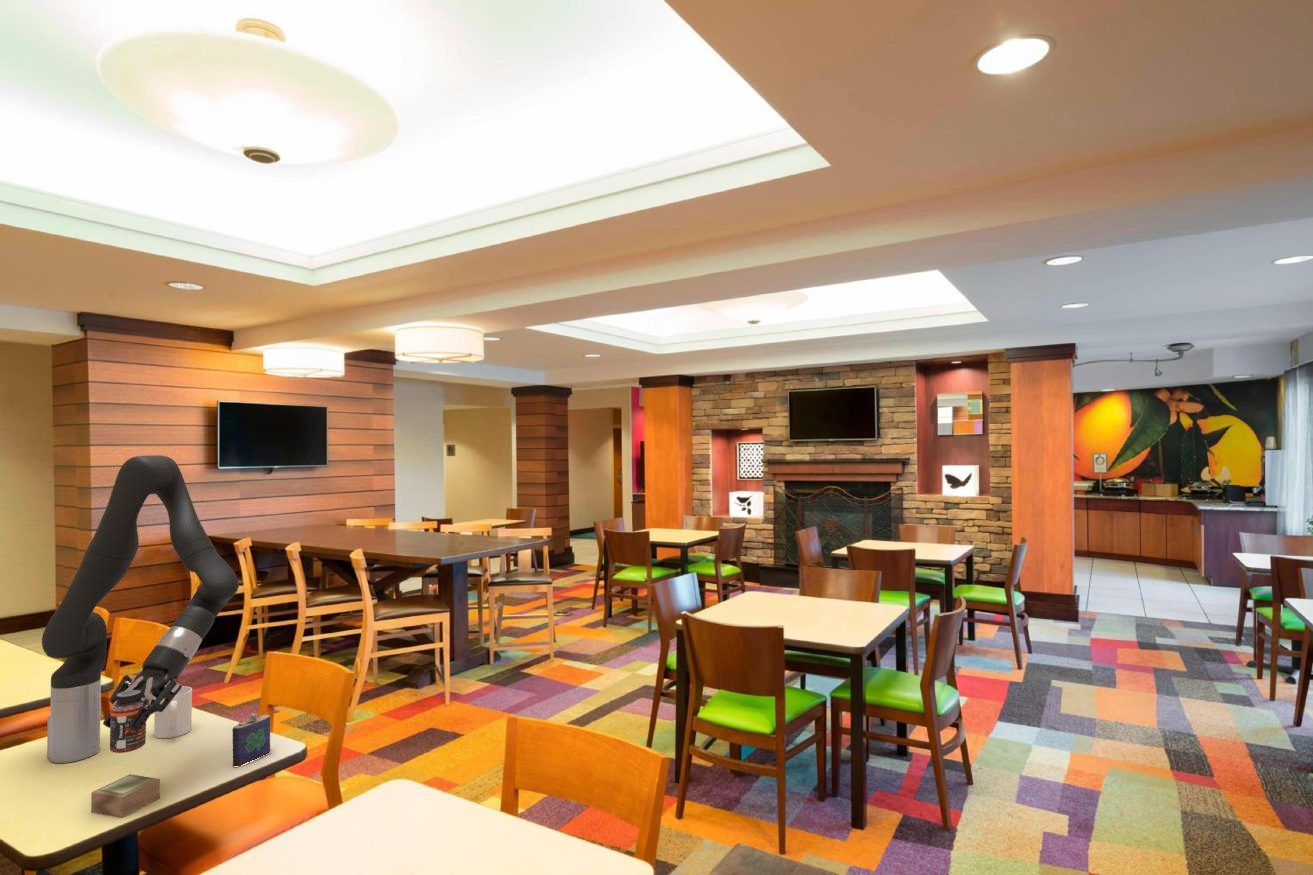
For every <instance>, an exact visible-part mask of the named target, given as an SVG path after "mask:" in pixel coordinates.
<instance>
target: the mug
mask: <svg viewBox="0 0 1313 875" xmlns="http://www.w3.org/2000/svg"><path fill="white" fill-rule="evenodd" d="M181 686H182V685H181ZM164 700H165V699H163V700H162V701H161V702H160V704H162V703H163V701H164ZM192 708H193V688H192V687H191V686H182V688H181V689H180V691H179V692H178V693H177V694H176V696H175V697H174V698H173V699H172V700H171V702H170V703H169V704H168V705H167V707H166V708H165V709H164V710H163V711H162V712H158V711H157V712H155V713H153V714H154V717H153V718H154V722H153V724H154V726H153V729H154V730H153V731H154V732H153V734H154V737H155V738H157V739H171V738H176V737H177V738H178V737H181V736H183V735H186V734H188V733H190V731H191V730H192V727H193V726H192V722H193V720H192V719H193V718H192V713H193V712H192V711H193V709H192Z"/></svg>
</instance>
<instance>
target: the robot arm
mask: <svg viewBox="0 0 1313 875" xmlns="http://www.w3.org/2000/svg"><path fill="white" fill-rule="evenodd" d="M182 474H183V473H182V472H181V469H180V467H179V465H178V464H177V462H176V461H175V460H174V459H172V458H171V457H169V456H167V455H162V454H161V455H159V454H158V455H151V454H150V455H136V456H133V457H130V458H129V459H127V460H125V462H124V463H122V465H121V467H120V468H119V470H118V473H117V476H116V478H115V481H114V484H113V487H112V490H111V494H110V497H109V499H108V503H107V505H106V507H105V511H104V513H103V515H102V517H101V519H100V522H99V523H98V526H97V529H96V530H95V533H94V534H93V537H92V539H91V541H90V542H89V544H88V546H87V549H86V550H85V553H84V555H83V556H82V559H81V562H80V565H79V567H78V569H77V570H76V573H75V575H74V576H73V579H72V581H71V583H70V585H69V587H68V589H67V591H66V593H65V595H64V597H63V599H62V600H61V602H60V604H58V606H57V608H56V610H55V611H54V613H53V615H52V616H51V617H50V619H49V621H48V622H47V625H46V626H45V628H44V630H43V632H42V637H41V645H42V650H43V652H44V654H45V655H46V656H48V657H49V658H52V659H55V660H56V659H65V658H66V659H65V660H64V662H63V663H62V665H60V667H58V668H57V669H56V670H55V671H54V672H53V673H52V674H51V677H50V711H49V712H50V715H49V716H48V718H47V734H46V735H47V740H46V742H47V743H46V744H47V745H46V758H48V759H49V762H51V763H53V764H54V763H56V764H65V763H72V762H77V761H81V760H84V759H87V758H90V757H93V756H94V755H96V754H97V753H99V752H100V749H101V706H102V705H101V696H102V695H101V692H102V691H101V689H102V688H101V687H102V680H101V679H102V671H103V669H104V667H105V665H106V658H107V657H106V656H107V643H108V642H107V641H108V629H107V624H106V621H105V620H104V618H103V617H102V615H100V613H98V612H94V610H95V608H96V607H97V606H98V605H99V603H100V602H102V600H103V599H104V598H105V597H106V596H107V595H108V594H109V593H110V592H111V591H112V590H113V589H114V588H115V587H116V586H117V585H118V584H119V583H120V581H121V580H122V579H123V578H124V577H125V576H126V575H127V573H128V571H129V569H130V567H131V565H132V563H133V561H134V558H135V557H136V555H137V553H138V550H139V544H140V543H139V542H140V540H139V533H138V525H137V524H138V523H137V522H138V517H139V514H140V512H141V509H142V507H143V505H144V503H145V501H146V499H147V498H148V497H149V495H156V496H157V497H158V499H160V501H161V502H162V504H163V506H164V507H165V509H166V511H167V515H168V521H169V537H170V542H171V545H172V546H173V549H174V550H175V553H176V554H177V555H178V557H179V559H180V560H181V563H182V564H183V566H184V567H185V568H186V569H185V570H187V571H189V572H190V573H195V575H196V576H197V578H198V579H199V580H200V581H201V584H200V586H199V587H198V588H197V590H196V591H195V592H194V594H193V596H192V597H191V599H190V601H189V602H188V604H187V605H186V607H185V608H184V609H183V610H182V612H181V613H180V614H179V615H178V616H177V618H176V620H174V622H173V623H172V625H171V626H170V627H169V628H168V630H167V631H166V632H165V633H164V634H163V635H162V637H160V639H159V641H158V642H157V643H156V644H155V646H154V647H153V648H152V650H151V651H150V652H149V654H148V655H147V657H146V658H145V659H144V661H143V662H142V670H141V672H139V673H138V674H137V675H136V676H130V675H128V674H125V675H123V677H122V678H121V680H120V682H119V683H118V685H117V686H116V688H115V690H114V691H113V693H112V695H111V696H110V698H109V699H108V701H109V702H110V703H111V704H112V706H114V705H115V704H116V703H117V701H116V700H117V694H119V693H121V692H124V691H129V690H140V691H141V697H140V698H141V699H143V701H144V703H143V707H142V709H143V710H139V712H138V713H137V714H136V716H135V717H134V719H133V720H132V722H131V723H130V724H129V729H131V730H132V731H136V732H137V731H139V729H140V728H142V727H143V725H144V723H145V722H146V723H147V721H148V720H149V718H150V716H151V715H153V714H155V712H157V711H158V712H162V711H163V710H164V709H165V708H166V707H167V705H168V704H169V703H170V702H171V700H172V699H173V698H174V697H175V696H176V694H177V693H178V692H179V691H180V689H181V688H182V685H181V684H180V682H179V683H178V681H175V680H177V679H178V678H179V677H180V676H181V674H182V673H183V671H184V670H185V669H186V667H187V666H188V665H189V662H190V661H191V660H192V658H193V657H194V656H195V654H196V652H197V651H198V649H199V647H200V645H201V643H202V641H203V640H204V638H205V637H206V636H207V634H208V632H210V630H211V628H212V627H213V625H214V623H215V619H216V618H217V617H218V615H219V614H220V612H221V611H222V610H223V608H224V607H225V606H226V604H227V603H228V602H229V601H230V600H231V599H232V598H233V597H234V596H235V594H237V592H238V590H239V584H240V583H239V578H238V577H237V575H236V572H235V571H234V569H233V568H232V567H231V566H230V565H229V564H228V563H227V561H226V560H225V559H224V558H222V557H221V555H220V554H219V553H218V551H217V550H216V548H215V545H214V544H213V543H212V541H211V539H210V538H209V536H208V534H207V532H206V531H205V529H204V527H203V525H202V524H201V521H200V519H199V517H198V515H197V512H196V510H195V506H194V505H193V502H192V498H191V496H190V493H189V491H188V487H187V485H186V482H185V480H184V476H183V475H182ZM163 699H165V700H164V701H163V703H162V704H160V702H161V701H162V700H163ZM110 715H111V710H110V711H109V713H108V714H107V716H106V717H105V718H104V720H103V722H102V724H103V726H104V727H107V728H108V729H110Z"/></svg>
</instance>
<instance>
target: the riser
mask: <svg viewBox="0 0 1313 875" xmlns="http://www.w3.org/2000/svg"><path fill="white" fill-rule="evenodd" d="M90 798H91V799H90V800H91V803H90V804H91V805H90V806H91V807H90V808H91V813H93V814H99V815H100V814H101V815H104V816H111V817H116V818H117V817H118V818H122V819H123V818H125V817H127V816H128V815H130V814H132V813H134V812H136V811H138V810H141V809H142V808H144V807H146V806H148V805H149V804H151V803H153V802H155V801H157V800H159V799H160V798H161V778H155V777H151V776H150V777H149V776H145V775H144V776H143V775H137V774H132V773H131V774H128V775H125V776H123V777H121V778H119V779H117V780H115V781H113V782H111V783H109V784H106V785H104V786H102V787H100V788H98V789H96V790H93V791H91V797H90Z"/></svg>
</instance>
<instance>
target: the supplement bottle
mask: <svg viewBox="0 0 1313 875" xmlns="http://www.w3.org/2000/svg"><path fill="white" fill-rule="evenodd" d="M140 697H141V691H140V690H129V691H124V692H121V693H119V694H117V700H116V701H117V703H116V704H115V705H112V707H111V708H110V711H111V715H110V728H109V733H110V734H109V750H110V751H111V752H112V753H116V754H124V753H129V752H133V751H136V750H138V749H141V748H142V747H144V746H145V745H146V740H147V737H146V735H147V721H146V722H145V723H144V725H143V727H142V728H140V729H139V731H137V732H136V731H132V730H131V729H129V724H130V723H131V722H132V720H133V719H134V717H135V716H136V714H137V713H138V712H139V710H143V709H142V707H143V703H144V699H142V698H140Z"/></svg>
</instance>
